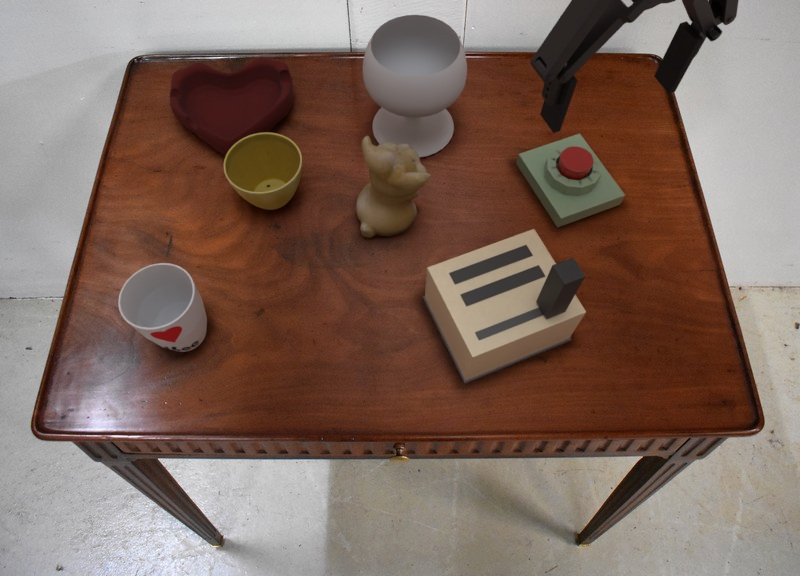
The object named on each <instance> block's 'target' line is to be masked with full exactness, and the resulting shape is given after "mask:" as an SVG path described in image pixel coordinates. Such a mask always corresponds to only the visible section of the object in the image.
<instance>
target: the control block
mask: <svg viewBox="0 0 800 576" xmlns="http://www.w3.org/2000/svg"><path fill="white" fill-rule="evenodd" d="M574 146H576V147H581V148H584V149H586V150H587V151H589V152H590V154H591V155H592V157H593V165H592V168H591V170H590V172H589V174H588V175H587V176H586V177H585V178H583V179H580V180H571V179H568V178H566V177H564V176H563V175H562V174H561V173H560V172H559V170H558V166H557V165H558V161H559V158H560V155H561V153H562V151H563V150H565V149H566V148H568V147H574ZM515 165H516V166H517V168H518V170H519V171H520V172H521V174H522V176H523V177H524V178H525V180H526V181H527V183H528V185H529V187H530V188H531V189H532V191H533V192H534V194H535V195H536V197H537V198H538V200H539V202H540V203H541V205H542V206H543V208H544V210H545V211H546V213H547V214H548V215H549V217H550V218H551V220H552V222H553V223H554V225H555V226H556V228H560V227H563V226H565V225H569V224H571V223H574V222H577V221H579V220H582V219H585V218H587V217H590V216H593V215H595V214H599V213H602V212H604V211H607V210H609V209H612V208H615V207H618V206H620V205H621V204H622V202H623V201H624V198H625V197H626V194H625V193H624V191H623V190H622V189H621V187H620V186H619V184H618V183H617V182H616V180H615V179H614V177H612V175H611V173H610V172H609V171H608V169H607V168H606V167H605V166H604V164H603V163H602V161H601V160H600V159H599V158H598V156H597V155H596V153H595V152H594V151H593V149H592V148H591V146H590V145H589V144H588V143H587V141H586V139H585V138H584V137H583V136H582V134H581V133H576V134H574V135H571V136H568V137H565V138H561V139H559V140H556V141H553V142H549V143H547V144H544V145H541V146H538V147H535V148H532V149H529V150H526V151H523V152H520V153H518V155H517V159H516V162H515Z"/></svg>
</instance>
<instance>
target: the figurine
mask: <svg viewBox="0 0 800 576" xmlns="http://www.w3.org/2000/svg"><path fill="white" fill-rule="evenodd" d="M361 151H362V155H363V159H364V162H365V164H366V166H367V169H368V178H369V183H367V184H366V185H365V186H364V187H363V188H362V190H361V191H360V192H359V194H358V196H357V199H356V206H355V210H356V211H355V212H356V215H357V218H358V220H359V222H360V227H359V231H360V233H361V235H362V236H363V237H364V238H367V239H372V238H374V237H375V236H381V237H393V236H397V235H399V234H403V232H405V231H407V230H408V229H410V227H411V226H412V224H413V222H414V221H415V218H416V217H417V214H418V211H417V206H416V204H415V202H414V201H413V200H415V199H416V198H418V196H419V194H420V189H422V188H423V187H424V186H425V185H426V184H427V183H428V182H429V181H430V180H431V178H432V175H431V173H429V172H427V169H426V167H425V166H424V165H423V163H421V158H420V157H419V155H418V153H417V151H416V150H415V149H414V148H413V147H412V146H410V145H408V144H400V145H396V144H394V143H390V142H385V143H381V144H379V143H378V145H374V144H373V143H372V139H371V137H370V136H369V135H366V136H364V137H363V139H362V141H361Z"/></svg>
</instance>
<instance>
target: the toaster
mask: <svg viewBox="0 0 800 576" xmlns="http://www.w3.org/2000/svg"><path fill="white" fill-rule="evenodd" d="M555 264H557V263H556V262H555V260H554V258H553V256H552V255H551V253H550V251H549V250H548V248H547V247H546V246H545V244H544V242H543V241H542V239H541V237H540V236H539V234H538V232H537V231H536V229H535V228H532V229H530V230H526V231H524V232H521V233H518V234H515V235H512V236H510V237H508V238H507V237H506V238H505V239H502V240H499V241H497V242H493V243H491V244H489V245H485V246H482V247H480V248H476V249H474V250H472V251H469V252H466V253H463V254H461V255H460V254H459V255H458V256H455V257H452V258H450V259H447V260H444V261H441V262H438V263H435V264H433V265H430V266H427V268H426V278H425V289H424V290H425V292H424V295H422V300H423V302H424V304H425V306H426V307H425V308H427V311H428V312H429V315H430V317H431V319H432V321H433V323H434V325H435V327H436V330H437V331H438V334H439V335H440V337H441V339H442V341H443V344H444V346H445V348H446V349H447V351H448V354H449V356H450V358H451V360H452V362H453V364H454V366H455V369H456V370H457V372H458V374H459V376H460V378H461V380H462V382H463V383H462V384H464V385H467V384H469V383H471V382H474V381H477V380H479V379H481V378H484V377H486V376H489V375H491V374H495V372H498V371H501V370H503V369H506V368H508V367H510V366H513V365H516V364H518V363H521V362H524V361H526V360H528V359H530V358H533V357H535V356H538V355H540V354H543V353H545V352H547V351H550V350H553V349H555V348H557V347H560V346H562V345H565V344H567V343H570V342H571V341H572V340H573V339H572V335H573V334H574V332H575V330H576V329H577V327H578V326H579V324H580V322H581V321H582V319H583V318H584V316H585V314H586V313H587V311H586V309H585V307H584V306H583V304H582V303H581V301H580V300H579V298H578V296H577V295H576V294H575V296H574V297H573V299H572V301H571V303H570V305H569V306H568V308H567V310H566V312H564V313H561V314H559V315H556V316H554V317H551V318H549V319H546V318H545V316H544V314H543V312H542V311H541V309H540V307H539V306H538V304H537V302H536V301H537V298H538V296H539V294H540V292H541V290H542V287H543V285H544V283H545V281H546V278H547V276H548V274H549V272H550V270H551V267H552V265H555Z"/></svg>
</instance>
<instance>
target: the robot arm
mask: <svg viewBox="0 0 800 576" xmlns="http://www.w3.org/2000/svg"><path fill="white" fill-rule="evenodd" d="M630 1H631V2H632V4H631V5H630V6H627V5H626V3H625V2H624V0H571V1H570V2H569V3H568V5H567V6H566V8H565V9H564V11H563V12H562V14H561V15H560V17H559V18H558V20H557V21H556V23H554V25H553V27H552V29H551V30H550V32H549V33H548V34H547V36H546V37H545V39H544V40H543V42H542V43H541V44H540V45H539V47H538V49H537V50H536V52H535V53H534V55H533V56H532V58H531V60H530V65H531V67H532V68H533V69H534V71H535V72H536V74H537V75H538V76H539V78H540V79H541V80H542V82H543V83H544V84H543V85H542V90H541V97H542V99H543V103H542V106H541V110H540V113H539V114H540V116H541V118H542V119H543V121H544V123H545V124H546V125H547V126H548V128H549V129H550V131H551V132H552V134H555V133H559V132H561V130H562V126H563V124H564V121H565V118H566V116H567V112H568V110H569V107H570V104H571V101H572V98H573V95H574V92H575V90H576V86H577V84H578V79H577V78H576V76H575V75H576V74H577V73H578V72H579V71H580V70H581V69H582V68H583V67H584V66H585V65H586V64H587V63H588V62H589V61H590V60H591V59H592V57H593V56H594V55H595V54H597V52H598V51H599V50H600V49H601V48H602V47H603V46H604V45H605V44H606V43H607V42H608V41H609V40H610V39H611V38H612V37H614V35H615V34H616V33H617V32H618V31H619V30H620V29H621V28H622V27H623V26H625V24H632V23H634V22H635V21H636V20H637V19H638V18H639V17H640V16H641V15H642V14H643V13H644V12H645V11H647V10H648V11H649V10H650V9H653V8H655V7H656V6H659V5H661V4H670V3H673V2H676V1H677V0H630ZM681 3H682V5H683V8H684V9H685V12H686V14H687V17H688V18H689V21H691V23H689V22H688V21H683V22H680V23H679V24H678V27H677V29H676V31H675V32H674V35H673V36H672V38H671V41H670V43H669V45H668V47H667V49H666V51H665V53H664V55H663V57H662V58H661V61H660V63H659V65H658V67H657V69H656V71H655V73H654V75H653V77H654V78H655V80H657V82H658V83H659V84H660V85H661V87H663V89H664V90H665V91H666V92H667V93H668V94H669V95H670V94H673V93H675V92H676V91H677V89H678V88H679V85H680V84H681V82H682V80H683V79H684V76H685V75H686V73H687V71H688V69H689V67H690V65H691V64H692V62H693V60H694V58H695V57H696V56H697V55H698V54H699V52H700V50H701V48H702V46H703V44H704V43H705V41H706V39H707V40H709V41H710V42H714V41H717V40H718V39H719V38H720V36H722V33H723V30H722V29H721V28H720V27H719V25H721V24H723V25H724V26H728V25H729V24H732V23H733V22H734V21H735V19H736V18H737V15H738V8H739V7H738V6H739V0H681Z"/></svg>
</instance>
